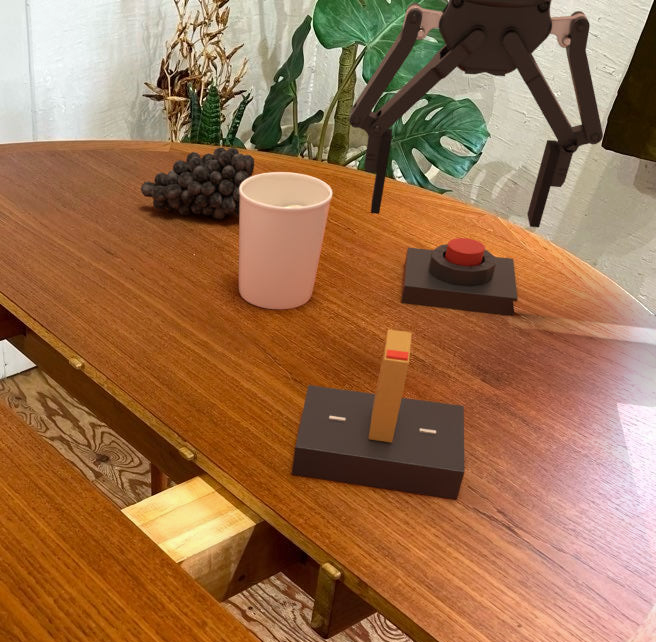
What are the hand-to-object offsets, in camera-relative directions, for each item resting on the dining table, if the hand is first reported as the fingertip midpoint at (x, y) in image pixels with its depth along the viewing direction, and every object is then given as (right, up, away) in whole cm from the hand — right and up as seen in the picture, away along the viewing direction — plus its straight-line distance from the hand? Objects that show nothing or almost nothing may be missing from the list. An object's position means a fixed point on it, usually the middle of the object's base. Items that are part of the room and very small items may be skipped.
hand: (453, 214), depth 85 cm
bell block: (+8, -1, +25) cm, 26 cm away
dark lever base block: (-7, -21, +1) cm, 22 cm away
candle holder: (-13, -2, +24) cm, 27 cm away
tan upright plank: (-7, -19, -1) cm, 20 cm away
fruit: (-20, +13, +41) cm, 48 cm away
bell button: (+8, +2, +22) cm, 24 cm away
